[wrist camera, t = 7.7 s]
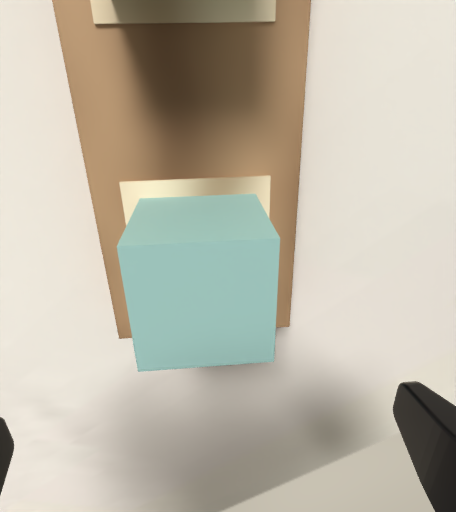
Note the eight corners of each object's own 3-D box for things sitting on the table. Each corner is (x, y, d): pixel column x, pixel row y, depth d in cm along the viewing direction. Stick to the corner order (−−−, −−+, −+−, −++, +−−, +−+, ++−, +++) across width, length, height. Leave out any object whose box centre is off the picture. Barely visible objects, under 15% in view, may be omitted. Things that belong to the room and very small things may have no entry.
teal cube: (255, 193, 15) (280, 238, 11) (254, 291, 18) (273, 361, 13) (139, 198, 15) (116, 246, 11) (152, 297, 17) (138, 371, 13)
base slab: (306, -264, 12) (335, -354, 9) (279, 301, 21) (290, 328, 19) (23, -275, 11) (-25, -375, 9) (127, 311, 21) (118, 340, 18)
